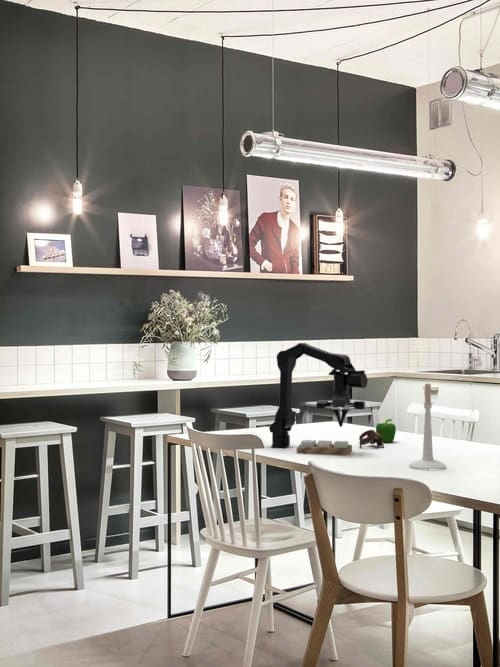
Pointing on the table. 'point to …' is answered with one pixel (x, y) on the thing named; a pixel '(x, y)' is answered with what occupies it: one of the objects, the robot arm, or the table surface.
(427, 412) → the candlestick
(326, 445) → the tile two
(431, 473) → the table surface
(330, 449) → the tile board
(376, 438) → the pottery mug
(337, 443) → the tile three
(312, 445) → the tile one
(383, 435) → the bell pepper
